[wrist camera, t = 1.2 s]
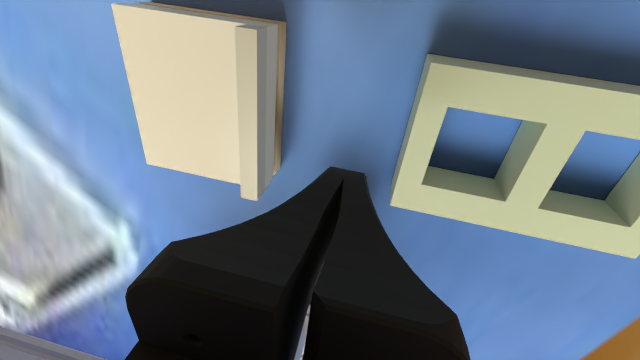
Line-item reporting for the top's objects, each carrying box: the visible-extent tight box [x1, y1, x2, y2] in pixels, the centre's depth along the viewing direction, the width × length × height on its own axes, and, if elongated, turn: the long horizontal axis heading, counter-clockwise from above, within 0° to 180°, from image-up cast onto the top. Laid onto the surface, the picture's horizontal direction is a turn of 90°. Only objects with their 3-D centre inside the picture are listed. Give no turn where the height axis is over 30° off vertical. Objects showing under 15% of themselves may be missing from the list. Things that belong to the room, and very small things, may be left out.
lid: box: [111, 3, 278, 201], centre depth 17 cm, size 9×8×3 cm
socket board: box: [390, 54, 640, 259], centre depth 16 cm, size 8×13×2 cm, turn 84°
